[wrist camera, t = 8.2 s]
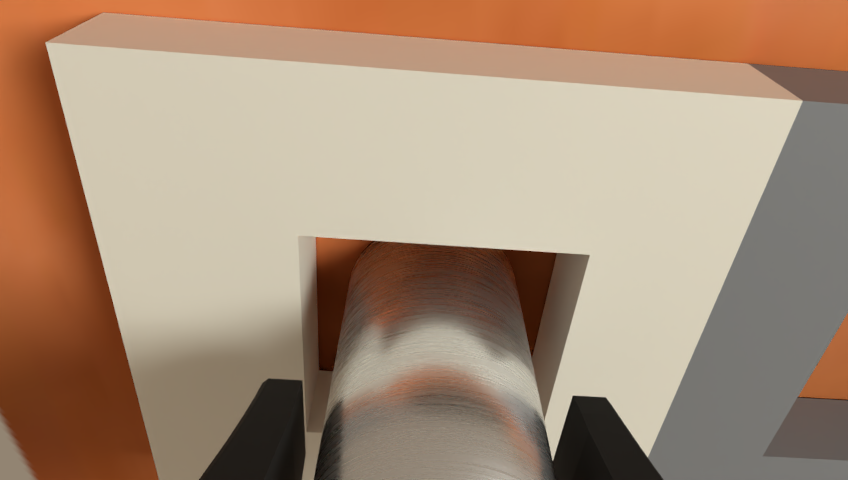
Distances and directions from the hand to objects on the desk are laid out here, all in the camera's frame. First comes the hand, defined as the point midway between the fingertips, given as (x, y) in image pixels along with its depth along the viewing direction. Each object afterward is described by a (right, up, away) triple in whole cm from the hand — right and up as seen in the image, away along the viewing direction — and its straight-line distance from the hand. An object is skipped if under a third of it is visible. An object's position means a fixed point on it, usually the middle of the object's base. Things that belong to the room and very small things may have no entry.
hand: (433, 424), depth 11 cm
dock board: (+5, +2, +3) cm, 7 cm away
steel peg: (0, +2, +3) cm, 4 cm away
